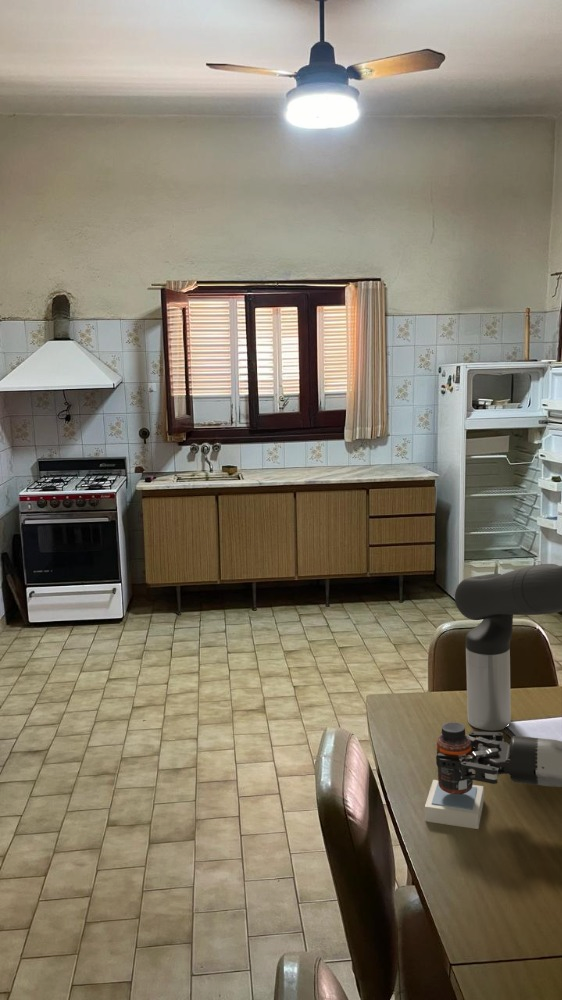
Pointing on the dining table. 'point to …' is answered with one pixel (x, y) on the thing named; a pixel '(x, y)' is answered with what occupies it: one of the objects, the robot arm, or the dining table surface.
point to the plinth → (454, 806)
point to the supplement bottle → (453, 744)
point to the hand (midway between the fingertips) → (439, 750)
